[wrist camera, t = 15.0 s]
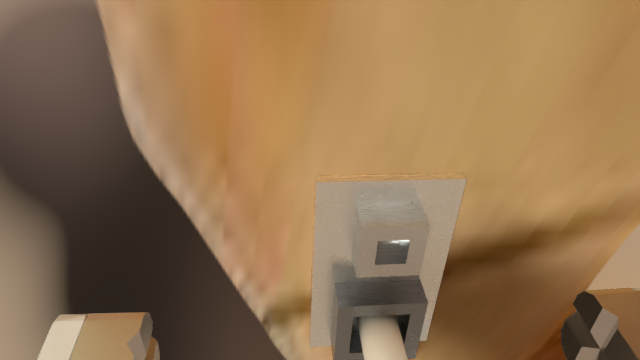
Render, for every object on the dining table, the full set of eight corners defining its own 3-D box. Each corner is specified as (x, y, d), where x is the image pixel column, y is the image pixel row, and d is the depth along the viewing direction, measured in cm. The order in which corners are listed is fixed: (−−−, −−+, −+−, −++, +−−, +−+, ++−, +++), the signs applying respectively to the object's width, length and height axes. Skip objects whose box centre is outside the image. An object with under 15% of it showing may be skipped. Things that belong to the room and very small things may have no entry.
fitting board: (462, 172, 44) (478, 200, 41) (423, 333, 57) (433, 364, 54) (315, 175, 43) (319, 204, 40) (309, 339, 56) (312, 371, 52)
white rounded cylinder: (395, 296, 51) (415, 364, 45) (391, 321, 54) (408, 390, 47) (356, 297, 51) (370, 367, 44) (353, 323, 53) (366, 393, 47)
